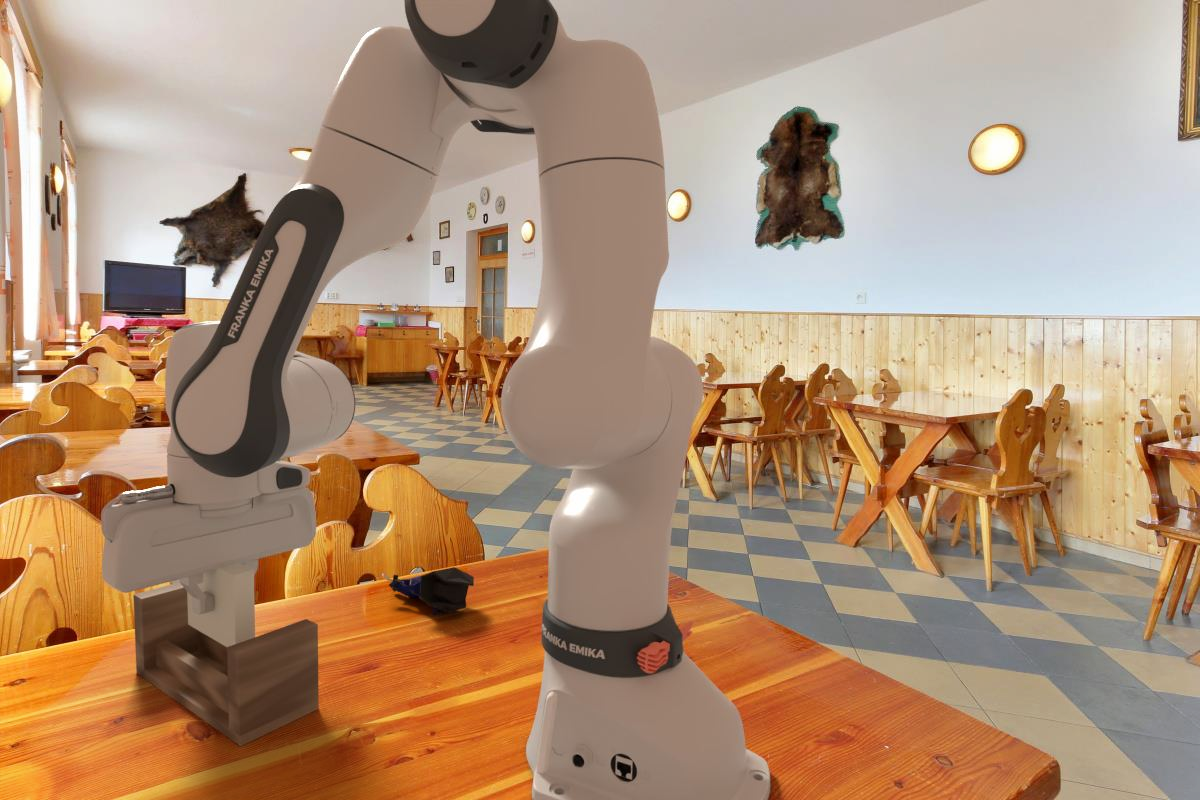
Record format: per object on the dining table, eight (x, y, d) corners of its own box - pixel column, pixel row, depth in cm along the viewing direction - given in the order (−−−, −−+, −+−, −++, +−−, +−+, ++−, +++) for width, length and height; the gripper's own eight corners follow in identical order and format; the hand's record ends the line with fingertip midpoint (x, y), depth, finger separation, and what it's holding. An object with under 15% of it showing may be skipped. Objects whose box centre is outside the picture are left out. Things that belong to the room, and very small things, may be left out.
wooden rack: (318, 708, 70) (317, 624, 69) (240, 746, 64) (238, 653, 63) (211, 646, 83) (209, 574, 82) (136, 672, 76) (133, 594, 75)
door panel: (255, 645, 71) (253, 570, 70) (235, 652, 69) (234, 575, 68) (207, 618, 76) (205, 548, 76) (188, 624, 75) (186, 553, 74)
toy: (429, 572, 106) (491, 570, 96) (423, 615, 104) (486, 618, 94) (376, 565, 99) (436, 562, 90) (368, 611, 97) (429, 613, 88)
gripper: (114, 502, 61) (120, 651, 62) (323, 468, 77) (324, 586, 79) (86, 489, 64) (92, 631, 66) (292, 460, 81) (293, 573, 82)
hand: (220, 606), depth 72 cm, fingers closed on door panel, 2 cm apart
